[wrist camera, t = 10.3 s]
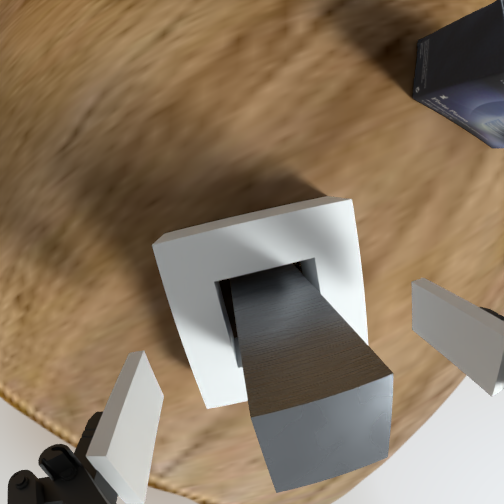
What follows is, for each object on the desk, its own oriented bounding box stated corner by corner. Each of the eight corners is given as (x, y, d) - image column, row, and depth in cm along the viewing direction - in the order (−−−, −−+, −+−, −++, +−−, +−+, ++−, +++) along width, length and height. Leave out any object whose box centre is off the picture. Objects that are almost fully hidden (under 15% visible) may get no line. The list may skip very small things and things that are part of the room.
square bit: (228, 272, 21) (250, 417, 7) (287, 258, 21) (393, 373, 8) (242, 325, 22) (276, 492, 8) (297, 311, 22) (387, 457, 8)
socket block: (164, 233, 20) (151, 245, 16) (327, 195, 21) (351, 199, 17) (207, 375, 22) (207, 408, 19) (347, 339, 23) (369, 365, 19)
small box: (408, 103, 20) (509, 71, 10) (415, 38, 19) (498, -9, 8) (493, 153, 21) (582, 154, 11) (496, 93, 20) (577, 79, 10)
